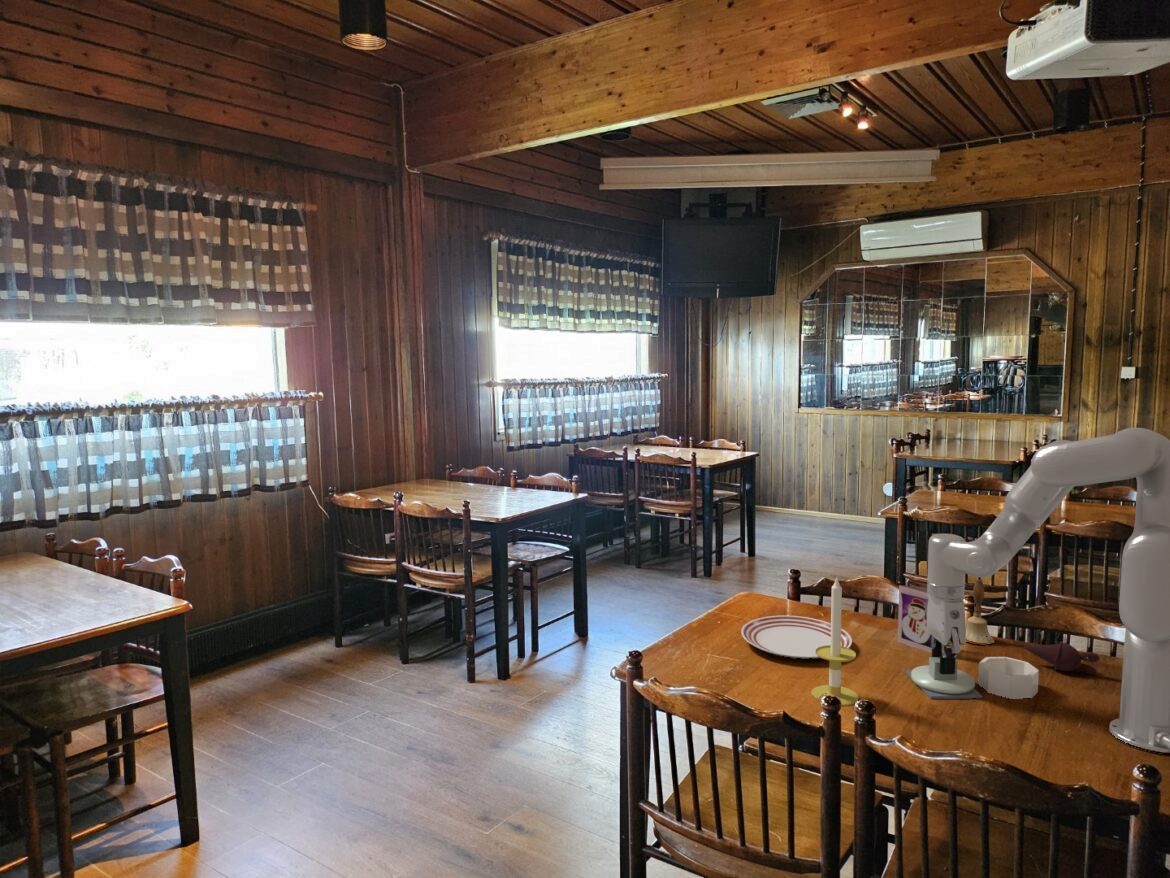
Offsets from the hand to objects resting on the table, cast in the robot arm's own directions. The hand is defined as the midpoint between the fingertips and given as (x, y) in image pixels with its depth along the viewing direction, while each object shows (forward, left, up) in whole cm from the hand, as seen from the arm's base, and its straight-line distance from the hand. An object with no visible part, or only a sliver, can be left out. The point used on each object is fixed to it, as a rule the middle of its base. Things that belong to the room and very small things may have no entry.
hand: (942, 669), depth 176 cm
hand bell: (+27, -20, -4) cm, 34 cm away
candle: (-5, +26, -4) cm, 26 cm away
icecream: (+8, -31, -4) cm, 32 cm away
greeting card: (+23, -5, -4) cm, 24 cm away
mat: (0, 0, -4) cm, 4 cm away
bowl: (-2, -13, -4) cm, 14 cm away
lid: (0, 0, -3) cm, 3 cm away
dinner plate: (+25, +27, -4) cm, 37 cm away
